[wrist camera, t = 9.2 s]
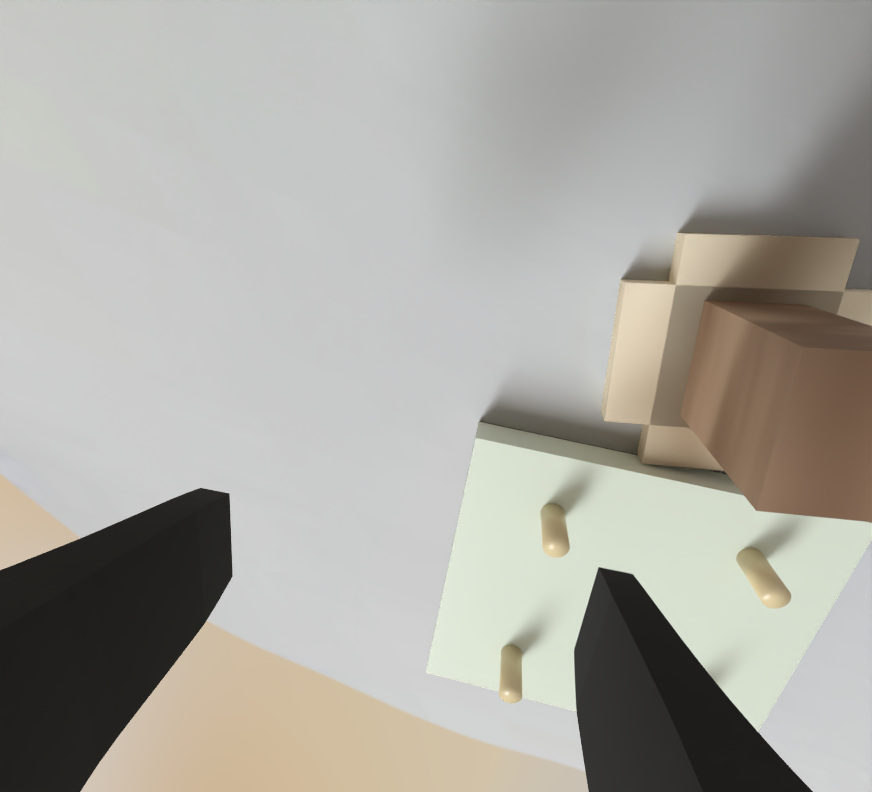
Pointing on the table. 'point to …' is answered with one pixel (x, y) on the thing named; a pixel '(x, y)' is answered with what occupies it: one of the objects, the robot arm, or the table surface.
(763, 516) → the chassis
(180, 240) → the table surface
